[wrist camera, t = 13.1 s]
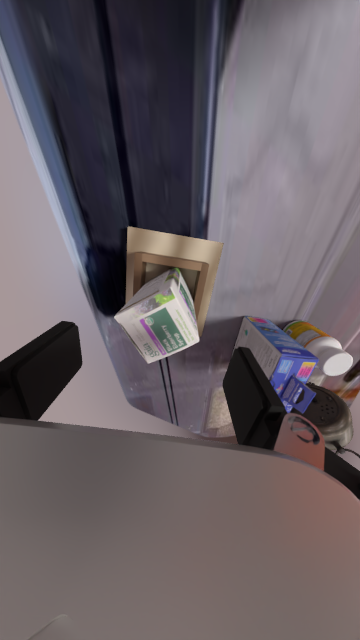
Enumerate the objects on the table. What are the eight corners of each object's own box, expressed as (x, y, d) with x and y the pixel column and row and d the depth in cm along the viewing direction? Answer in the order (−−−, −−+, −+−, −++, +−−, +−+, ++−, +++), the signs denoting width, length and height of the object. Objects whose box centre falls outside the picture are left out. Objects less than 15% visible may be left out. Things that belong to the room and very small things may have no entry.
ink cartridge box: (255, 361, 35) (300, 431, 22) (229, 358, 35) (260, 427, 22) (272, 318, 31) (340, 372, 18) (243, 315, 31) (290, 367, 18)
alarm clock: (268, 400, 40) (321, 492, 25) (264, 384, 38) (318, 473, 23) (317, 386, 38) (405, 477, 23) (315, 369, 36) (410, 456, 21)
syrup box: (193, 296, 28) (204, 342, 15) (162, 311, 29) (147, 367, 16) (177, 264, 26) (173, 284, 13) (144, 282, 27) (110, 318, 14)
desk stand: (221, 243, 26) (229, 242, 21) (200, 333, 32) (203, 347, 28) (130, 227, 25) (119, 223, 21) (127, 322, 32) (118, 335, 27)
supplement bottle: (313, 335, 33) (363, 368, 24) (286, 348, 34) (324, 385, 25) (303, 314, 31) (354, 342, 22) (276, 329, 32) (312, 361, 23)
